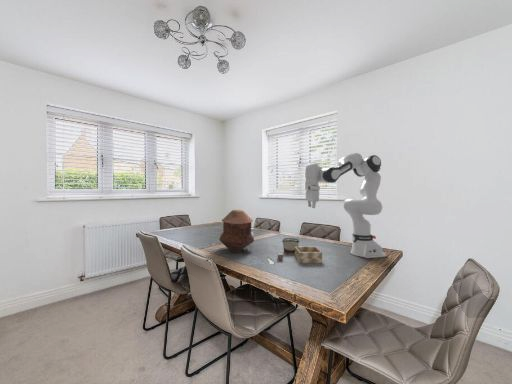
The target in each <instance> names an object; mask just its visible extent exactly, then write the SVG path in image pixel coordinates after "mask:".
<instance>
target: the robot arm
mask: <svg viewBox="0 0 512 384" xmlns="http://www.w3.org/2000/svg"><path fill="white" fill-rule="evenodd" d="M337 165H338V166H336V167H326V168H323V167H321V166H319V164H318V163H317V162H316V163H315V162H314V163H309V164H306V166H305V170H304V172H305V173H304V174H305V175H304V177H305V182H304V183H305V184H304V186H305V187H304V189H305V190H306V191H305V200H306V201H307V204H308V205H307V207H309V208H312V209H316V204H317V202H319V199H320V190H321V186H320V185H319V183H331V184H334V183H336V182H337V181H338V180H339V178H340V177H341V176H343V175H344V174H346V173H348V172H350V171H353V173H354V175H356V177H359V178H362V177H364V180H363V181H362V183H361V186H360V189H359V194H360V196H362V197H363V198H360V197H359V198H357V197H355V198H354V197H352V198H346V200H344V202H343V210H344V211H345V212H346V213H347V214H348V215H349V217H350V218H351V221H352V228H353V229H352V231H353V232H352V234H351V235H352V237H351V238H352V246H351V249H350V254H352V255H353V256H356V257H361V258H365V259H372V258H374V259H375V258H384V257H387V254H386V253H385V252H383V247H382V246H381V245H380V244H379V243H378V242H377V241H375V240H376V238H377V236H376V235H373V234H371V232H372V231H371V226H372V225H371V223H370V221H369V220H367V219H366V218H365V217H364V215H365V216H376V215H380V213H382V210H383V205H382V202H381V201H380V200H379V198H377V193H378V190H379V187H380V185H381V180H382V179H381V178H382V176H381V173H379V172H380V171H381V167H382V160H381V158H380V157H379V156H378V155H376V154H373V155H370V156H368V157H365V158H363V157H362V155H361V154H360V153H359V152H355V153H350V154H347V155H345V156H343V157H342V158H340V159H339V160H338V163H337Z"/></svg>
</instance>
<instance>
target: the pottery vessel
mask: <svg viewBox="0 0 512 384" xmlns="http://www.w3.org/2000/svg"><path fill="white" fill-rule="evenodd" d="M221 222H223V223H222V224H223V225H222V226H223V227H222V233H221V234H220V237H219V238H218V239H219V241H220V243H221V244H223V246H225V247H226V248H227V249H228V250H229V252H232V253H239V252H242V251H243V250H244V249H245V248H247V247H248V246H249V245H251V244H253V242H254V241H255V239H254V236H253V234H252V223H253V222H254V220H253V219H252V218H251V217H250V216H249V215H248V214H247V213H246V211H244V210H242V209H231V211H230V212H228V213H227V215H226V216H225V217H224V218H222V219H221Z"/></svg>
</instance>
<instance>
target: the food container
mask: <svg viewBox="0 0 512 384" xmlns="http://www.w3.org/2000/svg"><path fill="white" fill-rule="evenodd" d="M281 240H282V241H281V242H282V247H283V253H287V254H295V247H299V244H300V243H301V242H300V240H299V239H298V238H295V237H284V238H283V239H281Z"/></svg>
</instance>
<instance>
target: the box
mask: <svg viewBox="0 0 512 384" xmlns="http://www.w3.org/2000/svg"><path fill="white" fill-rule="evenodd" d="M294 257H295V258H296V260H297V261H298V263H299V264H323V252H322V251H321V249H319V248H318V247H317V246H298V247H295V253H294Z"/></svg>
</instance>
